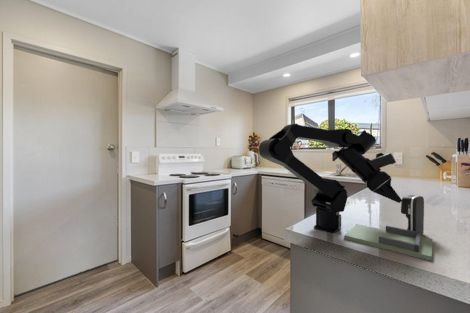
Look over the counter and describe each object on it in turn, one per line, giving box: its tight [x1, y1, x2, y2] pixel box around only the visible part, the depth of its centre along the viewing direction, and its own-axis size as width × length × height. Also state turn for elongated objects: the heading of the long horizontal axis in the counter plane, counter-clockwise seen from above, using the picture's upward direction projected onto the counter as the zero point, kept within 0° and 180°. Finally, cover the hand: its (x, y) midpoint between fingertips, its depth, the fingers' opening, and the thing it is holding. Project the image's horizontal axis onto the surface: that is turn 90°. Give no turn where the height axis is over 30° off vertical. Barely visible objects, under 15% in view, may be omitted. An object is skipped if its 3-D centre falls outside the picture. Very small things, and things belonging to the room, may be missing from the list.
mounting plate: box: [343, 223, 433, 262], centre depth 58 cm, size 18×13×2 cm
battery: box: [400, 194, 425, 235], centre depth 63 cm, size 7×4×11 cm, turn 123°
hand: (397, 198), depth 65 cm, fingers open, 9 cm apart
